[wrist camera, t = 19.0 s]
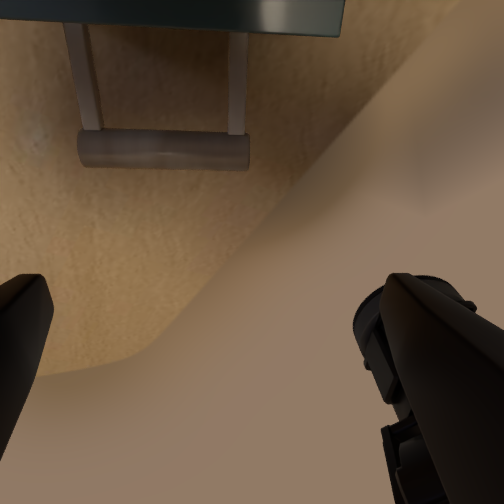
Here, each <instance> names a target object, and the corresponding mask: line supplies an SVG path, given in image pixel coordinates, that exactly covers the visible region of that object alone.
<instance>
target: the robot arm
mask: <svg viewBox="0 0 504 504" xmlns="http://www.w3.org/2000/svg"><path fill="white" fill-rule="evenodd" d="M379 308H380V313H379V316H378V319H377V322H376V325H375V328H374V329H373V331H372V333H371V336H370V339H369V342H368V345H367V348H366V352H365V359H364V366H365V368H366V370H370V371H372V374H373V376H374V379H375V381H376V383H377V386H378V388H379V391H380V393H381V395H382V398H383V400H384V402H385V403H386V404H392V405H393V408H394V410H395V412H396V415H397V417H398V419H399V422H397V423H395V424H393V425H391V426H390V425H387V426H385V427H383V428H381V434H382V438H383V447H384V452H385V457H386V462H387V467H388V472H389V476H390V481H391V486H392V491H393V496H394V500H395V504H504V330H502V329H500V328H499V327H497V326H496V325H494V324H492V323H491V322H489V321H487V320H486V319H484V318H482V317H481V316H479V315H477V314H476V313H475V312H476V310H477V307H476V305H475V304H474V303H473V302H472V301H454V300H453V299H451V298H449V297H448V296H446V295H444V294H443V293H441V292H439V291H438V290H436V289H434V288H433V287H431V286H429V285H428V284H426V283H424V282H423V281H421V280H419V279H418V278H416V277H414V276H413V275H411V274H409V273H392V274H390V275H389V276H388V278H387V280H386V283H385V286H384V289H383V293H382V296H381V299H380V304H379ZM53 313H54V305H53V301H52V298H51V295H50V292H49V289H48V286H47V283H46V280H45V278H44V276H42V275H41V274H20V275H17V276H16V277H14V278H12V279H10V280H9V281H7V282H5V283H3V284H2V285H0V460H1V458H2V456H3V453H4V451H5V449H6V446H7V444H8V441H9V439H10V437H11V434H12V432H13V430H14V427H15V425H16V422H17V420H18V418H19V415H20V413H21V411H22V408H23V406H24V404H25V401H26V399H27V397H28V394H29V392H30V389H31V387H32V384H33V382H34V379H35V376H36V372H37V369H38V366H39V362H40V359H41V356H42V352H43V349H44V345H45V342H46V338H47V335H48V331H49V328H50V324H51V321H52V318H53Z"/></svg>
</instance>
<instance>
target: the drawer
mask: <svg viewBox="0 0 504 504" xmlns="http://www.w3.org/2000/svg"><path fill="white" fill-rule="evenodd" d="M344 6H345V0H0V19H7V20H25V21H43V22H61V23H63V27H64V32H65V37H66V42H67V48H68V53H69V58H70V63H71V68H72V73H73V78H74V84H75V89H76V94H77V99H78V104H79V109H80V114H81V119H82V125H83V128H81V129H80V130H79V132H78V136H77V150H78V155H79V159H80V161H81V163H82V165H83V166H84V167H86V168H126V169H170V170H214V171H248V169H249V163H250V135H249V133H245V113H246V88H247V64H248V39H249V33H260V34H278V35H296V36H314V37H332V38H338V37H339V36H340V31H341V25H342V19H343V12H344ZM88 24H97V25H115V26H133V27H151V28H170V29H188V30H206V31H224V32H229V76H228V132H210V131H179V130H148V129H116V128H103V127H104V120H103V114H102V107H101V101H100V95H99V89H98V83H97V77H96V71H95V65H94V59H93V52H92V46H91V40H90V34H89V28H88Z"/></svg>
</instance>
